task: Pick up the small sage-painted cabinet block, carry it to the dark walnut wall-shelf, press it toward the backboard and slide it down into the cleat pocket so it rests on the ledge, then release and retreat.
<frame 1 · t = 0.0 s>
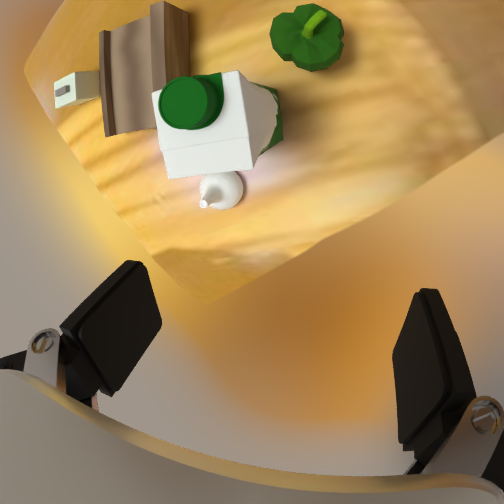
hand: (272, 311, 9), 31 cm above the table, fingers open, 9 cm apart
shelf: (177, 66, 33), on the table
bell pepper: (311, 47, 28), on the table
milk carton: (254, 117, 35), on the table
cabinet: (88, 88, 37), on the table
garlic bulb: (225, 185, 41), on the table
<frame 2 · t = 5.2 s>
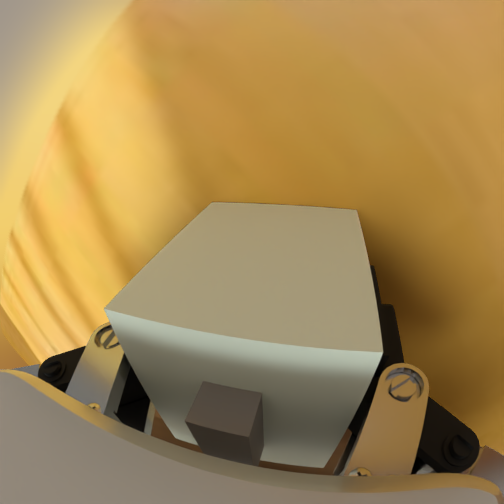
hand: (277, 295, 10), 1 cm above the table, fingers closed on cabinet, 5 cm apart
shelf: (263, 451, 20), on the table
cabinet: (281, 279, 11), on the table, touching gripper
when the fingers open (6 cm above the table, at t = 10.1 s): cabinet drops 1 cm, resting on shelf.
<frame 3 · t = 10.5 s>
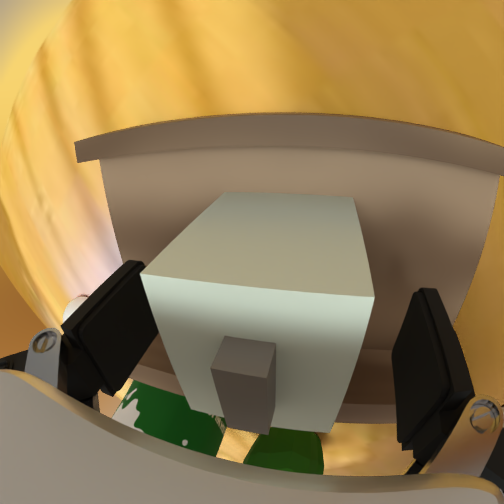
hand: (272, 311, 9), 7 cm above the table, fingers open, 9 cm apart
shelf: (293, 301, 17), on the table
bell pepper: (292, 429, 27), on the table
milk carton: (193, 375, 25), on the table
cabinet: (287, 261, 12), point 3 cm above the table, touching shelf
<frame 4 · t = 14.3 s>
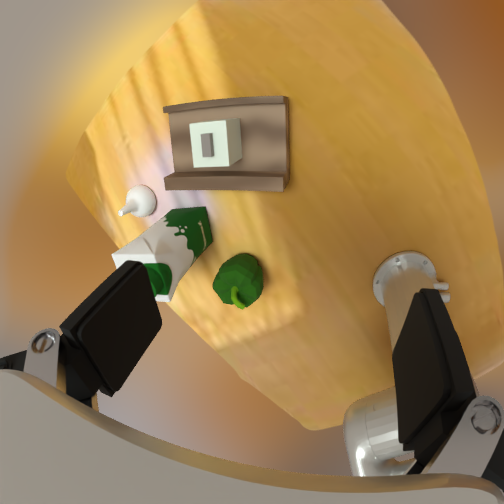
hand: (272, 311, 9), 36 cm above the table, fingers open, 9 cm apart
shelf: (233, 166, 44), on the table
bell pepper: (246, 266, 53), on the table
milk carton: (192, 224, 52), on the table
cabinet: (224, 138, 39), point 3 cm above the table, touching shelf
garlic bulb: (145, 198, 52), on the table
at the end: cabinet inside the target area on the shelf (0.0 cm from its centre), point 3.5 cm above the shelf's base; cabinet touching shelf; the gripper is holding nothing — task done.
